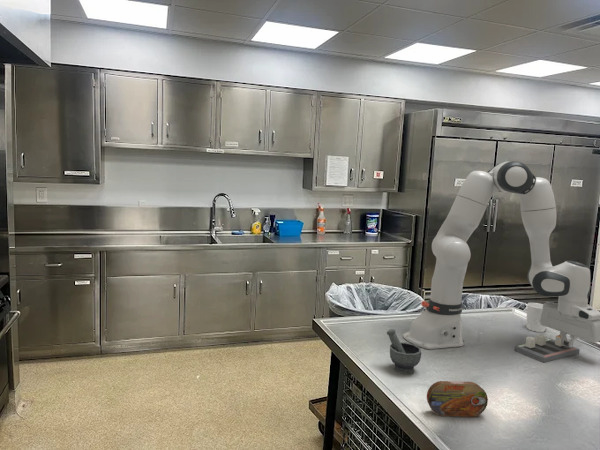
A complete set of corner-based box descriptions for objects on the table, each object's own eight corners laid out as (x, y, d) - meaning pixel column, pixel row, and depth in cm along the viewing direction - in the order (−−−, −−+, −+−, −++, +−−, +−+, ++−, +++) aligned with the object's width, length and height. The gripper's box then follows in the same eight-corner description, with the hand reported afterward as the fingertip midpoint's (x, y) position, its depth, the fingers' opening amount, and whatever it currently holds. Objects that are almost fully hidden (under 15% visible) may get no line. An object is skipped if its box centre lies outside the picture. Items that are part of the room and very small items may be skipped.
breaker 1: (530, 348, 157) (531, 339, 157) (525, 346, 159) (526, 337, 159) (534, 347, 159) (535, 338, 158) (529, 345, 160) (530, 336, 160)
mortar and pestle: (423, 368, 142) (426, 331, 140) (415, 379, 134) (418, 340, 132) (389, 359, 148) (392, 324, 146) (379, 369, 140) (381, 332, 138)
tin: (427, 415, 114) (430, 384, 113) (424, 409, 117) (426, 378, 116) (486, 418, 114) (489, 386, 113) (481, 411, 117) (484, 380, 116)
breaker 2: (541, 345, 160) (542, 337, 160) (535, 343, 162) (536, 335, 162) (545, 344, 161) (546, 336, 161) (540, 342, 163) (541, 334, 163)
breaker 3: (560, 346, 160) (561, 337, 160) (554, 344, 162) (556, 335, 162) (564, 345, 161) (565, 336, 161) (559, 343, 163) (560, 334, 163)
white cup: (541, 326, 187) (544, 303, 186) (550, 333, 179) (552, 309, 178) (521, 325, 188) (524, 302, 187) (529, 331, 180) (532, 307, 179)
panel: (544, 362, 150) (544, 358, 150) (514, 350, 160) (515, 346, 160) (578, 353, 160) (579, 348, 160) (549, 342, 169) (549, 338, 169)
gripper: (538, 300, 165) (534, 336, 167) (597, 317, 147) (591, 358, 149) (549, 298, 168) (545, 334, 170) (607, 315, 150) (602, 355, 152)
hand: (567, 345), depth 159 cm, fingers closed
